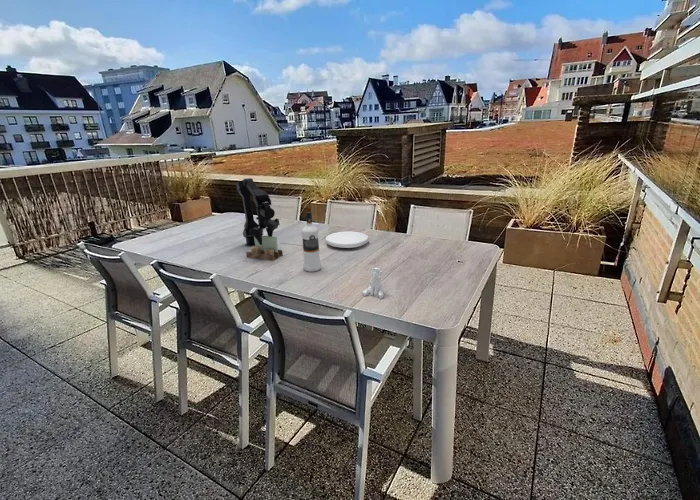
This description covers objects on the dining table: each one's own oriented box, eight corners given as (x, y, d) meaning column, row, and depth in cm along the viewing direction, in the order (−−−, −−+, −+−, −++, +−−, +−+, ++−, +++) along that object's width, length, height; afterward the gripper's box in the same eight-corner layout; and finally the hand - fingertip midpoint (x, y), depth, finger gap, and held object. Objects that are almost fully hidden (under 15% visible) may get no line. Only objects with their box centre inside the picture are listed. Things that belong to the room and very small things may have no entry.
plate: (331, 229, 231) (371, 230, 226) (332, 238, 233) (371, 240, 227) (320, 237, 204) (364, 239, 199) (320, 248, 206) (364, 250, 201)
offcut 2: (265, 258, 193) (264, 250, 191) (268, 256, 195) (267, 248, 194) (271, 259, 191) (270, 250, 190) (274, 257, 194) (273, 249, 192)
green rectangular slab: (256, 253, 200) (253, 235, 196) (257, 253, 202) (255, 234, 198) (276, 256, 195) (275, 237, 191) (278, 255, 197) (276, 237, 193)
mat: (270, 249, 209) (270, 249, 209) (280, 243, 220) (280, 242, 220) (296, 252, 203) (296, 252, 203) (306, 246, 213) (306, 245, 213)
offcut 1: (251, 256, 196) (250, 248, 194) (255, 255, 198) (254, 246, 197) (257, 257, 194) (256, 249, 193) (260, 255, 197) (259, 247, 195)
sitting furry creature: (361, 296, 150) (360, 270, 146) (367, 287, 158) (367, 263, 154) (382, 299, 147) (382, 273, 143) (387, 290, 155) (388, 265, 150)
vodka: (320, 264, 185) (316, 209, 175) (322, 271, 177) (319, 213, 167) (302, 266, 183) (298, 210, 173) (304, 273, 175) (300, 215, 165)
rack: (246, 258, 196) (246, 252, 195) (256, 253, 204) (255, 247, 202) (274, 262, 190) (273, 255, 188) (282, 256, 197) (282, 250, 196)
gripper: (265, 220, 180) (268, 249, 185) (284, 212, 196) (286, 238, 201) (247, 219, 184) (251, 246, 189) (267, 210, 200) (270, 236, 205)
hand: (265, 242), depth 196 cm, fingers open, 9 cm apart
